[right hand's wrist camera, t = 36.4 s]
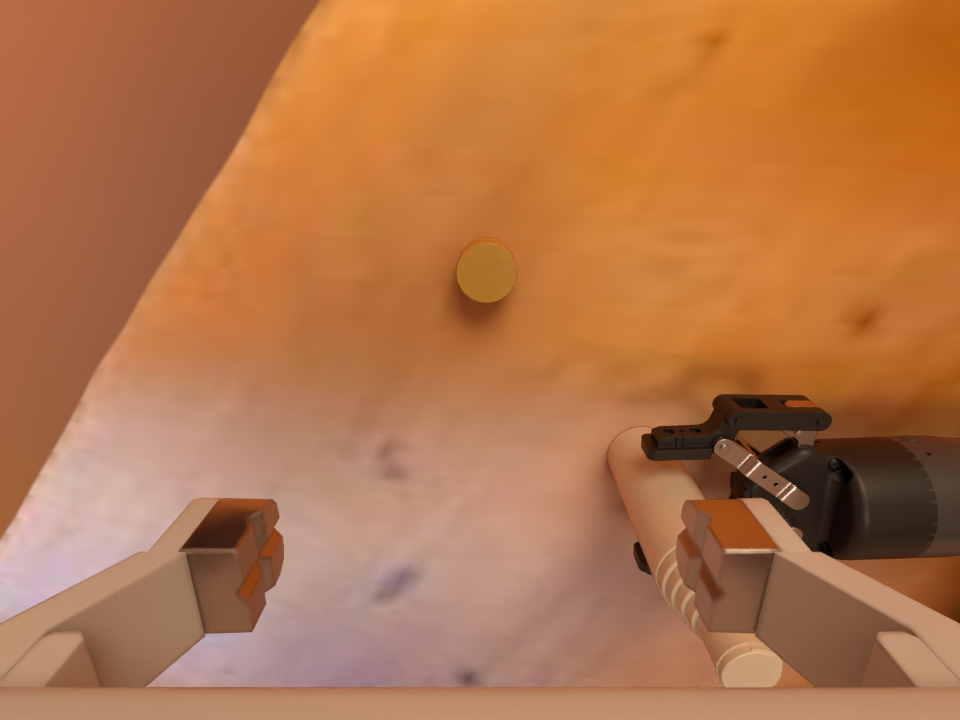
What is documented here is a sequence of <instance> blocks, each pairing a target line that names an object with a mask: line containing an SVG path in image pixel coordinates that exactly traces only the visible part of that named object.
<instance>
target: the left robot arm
mask: <svg viewBox="0 0 960 720" xmlns="http://www.w3.org/2000/svg"><path fill="white" fill-rule="evenodd" d="M712 405H713V408H714V410H713V412H712V414H711V416H710V418H709V419H708V420H707V421H705V422H704V423H702V424H699V425H680V426H659V427H656V428H654V429H651V433H647V434H643V435H642V436H641V448H642V450H643V451H644V453H645V455H646V457H647V458H648V459H649V460H652V461H672V460H698V459H711V453H716V455H718V456H719V457H721V458H722V459H724V460H725V461H727V462H728V463H730V464H731V465H733V466H734V467H736V468H737V470H736V472H731V477H730V486H731V491H732V492H731V495H730V497H729V499H741V498H763V499H765V500H767V501H769V503H770V504H771V505H772V506H773V507H774V508H775V510H776V511H777V512H778V513H779V514H780V515H781V516H782V518H783V519H784V520H785V521H786V522H787V523H788V525H789V526H790V527H791V528H792V529H793V530H794V531H795V533H796V534H797V535H798V536H799V537H800V538H801V540H802V541H803V542H804V543H805V544H806V545H807V546H808V548H809V549H810V550H811V551H812V552H822V553H824V554H826V555H827V556H829V557H831V558H835V559H839V560H868V559H898V558H929V557H950V556H960V438H945V437H935V436H907V435H901V436H892V437H866V438H841V439H818V440H815V438H816V434H817V431H822V430H825V429H827V428H828V427H829V426H830V424H831V422H832V418H831V416H830V415H829V414H828V413H826V412H825V411H824V410H822V409H821V408H820V407H818V406H817V405H816V404H814V403H813V402H812V401H810V400H809V399H808V398H806V397H805V396H802V395H736V394H722V395H719V396H717V397H716V398H715V399H714V400H713V404H712ZM739 430H777V431H783V432H784V433H785V434H786V435H787V436H791V437H788V438H785V439H783V440H781V441H780V442H778V443H776V444H775V445H773V446H771V447H770V448H768V449H766V450H765V451H763V452H761V451H759V450H758V449H756V448H755V447H753V446H752V445H750V444H749V443H747V442H746V441H745V440H743V439H742V438H740V437H739V436H737V433H738V431H739ZM633 554H634V557H635V560H636V562H637V565H638V568H639V569H640V570H641V571H643V572H647V574H649V575H652V574H651V571H650V569H649V566H648V563H647V561H646V558H645V556H644V553H643V551H642V548H641V546H640V543H639V542H636V543H635V544H634V553H633Z"/></svg>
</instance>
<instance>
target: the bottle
mask: <svg viewBox="0 0 960 720" xmlns="http://www.w3.org/2000/svg"><path fill="white" fill-rule="evenodd" d="M651 429H653V428H649V427H636V428H631V429H629V430H626V431H624V432H622V433H621V434H620V435H618V436H617V437H616V438H615V439H614V440H613V442H612V443H611V445H610V447H609V450H608V454H607V461H608V465H609V468H610V470H611V473H612V475H613V478H614V480H615V483H616V485H617V488H618V490H619V493H620V495H621V498H622V500H623V503H624V505H625V508H626V510H627V513H628V516H629V518H630V521H631V523H632V526H633V528H634V531H635V533H636V536H637V538H638V541H639V543H640V546H641V548H642V551H643V553H644V556H645V558H646V561H647V563H648V566H649V569H650V571H651V574H652V576H653V579H654V581H655V584H656V586H657V588H658V590H659V592H660V593H661V594H662V596H663V597H664V600H665V601H666V603H667V604H668V605H669V606H670V607H671V608H672V609H673V610H674V611H675V613H676V614H677V615H678V616H679V617H680V618H682V619H683V621H684V623H685V624H686V625H687V626H688V627H690V628H691V629H692V631H693V632H694V634H695V635H696V636H697V637H698V638H700V639H701V640H703V642H704V644H705V646H706V648H707V651H708V653H709V655H710V657H711V660H712V662H713V664H714V666H715V672H716V676H717V678H718V679H719V681H720V683H722V684H723V685H724V687H773V686H775V685H776V684H777V682H778V681H779V679H780V678H781V675H782V669H783V666H782V661H781V659H780V657H779V656H778V655H777V654H776V653H774V652H773V651H772V650H771V649H770V648H769V647H767V646H766V645H765V644H764V643H763V642H762V641H760V640H759V639H758V638H757V637H756V636H755V634H754V633H719V632H708V631H707V629H706V627H705V625H704V623H703V621H702V619H701V617H700V615H699V613H698V611H697V609H696V607H695V605H694V599H695V592H693V591H692V590H691V589H689V588H688V587H686V586H685V585H684V582H683V580H682V578H681V576H680V573H679V569H678V566H677V557H676V545H677V537H678V535H679V534H680V533H681V532H682V531H683V530H684V529H685V528H686V526H685V525H684V523H683V521H682V519H681V512H682V506H683V504H684V502H685V500H706V498H705V497H704V495H703V494H702V492H701V491H700V489H699V487H698V486H697V484H696V483H695V481H694V480H693V478H692V477H691V475H690V473H689V472H688V470H687V469H686V467H685V466H684V464H683V463H682V461H681V460H672V461H652V460H649V459H648V458H647V457H646V455H645V453H644V451H643V450H642V448H641V436H642V435H643V434H647V433H651Z"/></svg>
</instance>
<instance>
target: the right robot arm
mask: <svg viewBox="0 0 960 720" xmlns="http://www.w3.org/2000/svg"><path fill="white" fill-rule="evenodd" d="M278 519H279V512H278V507H277V503H276V502H275V501H274V500H273V499H235V498H224V499H221V498H198V499H195V500H192V501H191V503H190V504H189V505H188V506H187V507H186V508H185V509H184V511H183V512H182V513H181V514H180V515H179V516H178V518H177V519H176V520H175V521H174V522H173V523H172V524H171V526H170V527H169V528H168V529H167V530H166V531H165V533H164V534H163V535H162V536H161V537H160V538H159V540H158V541H157V542H156V543H155V544H154V545H153V546H152V548H151V549H150V550H149V551H148V552H138V553H136V554H134V555H133V556H131V557H129V558H127V559H125V560H123V561H121V562H119V563H117V564H115V565H113V566H111V567H109V568H107V569H105V570H103V571H101V572H99V573H97V574H95V575H94V576H92V577H90V578H88V579H86V580H84V581H82V582H80V583H78V584H76V585H74V586H72V587H70V588H68V589H66V590H64V591H62V592H60V593H58V594H56V595H55V596H53V597H51V598H49V599H47V600H45V601H43V602H41V603H39V604H37V605H35V606H33V607H31V608H29V609H27V610H25V611H23V612H21V613H19V614H17V615H16V616H14V617H12V618H10V619H8V620H6V621H4V622H2V623H0V720H960V623H958V622H956V621H954V620H952V619H950V618H948V617H946V616H944V615H942V614H940V613H938V612H936V611H934V610H932V609H931V608H929V607H927V606H925V605H923V604H921V603H919V602H917V601H915V600H913V599H911V598H909V597H907V596H905V595H903V594H901V593H899V592H897V591H896V590H894V589H892V588H890V587H888V586H886V585H884V584H882V583H880V582H878V581H876V580H874V579H872V578H870V577H868V576H866V575H864V574H862V573H861V572H859V571H857V570H855V569H853V568H851V567H849V566H847V565H845V564H843V563H841V562H839V561H837V560H835V559H833V558H831V557H829V556H827V555H826V554H824V553H822V552H812V551H811V550H810V549H809V548H808V546H807V545H806V544H805V543H804V542H803V541H802V540H801V538H800V537H799V536H798V535H797V534H796V533H795V531H794V530H793V529H792V528H791V527H790V526H789V525H788V523H787V522H786V521H785V520H784V519H783V518H782V516H781V515H780V514H779V513H778V512H777V511H776V510H775V508H774V507H773V506H772V505H771V504H770V503H769V501H767V500H765V499H763V498H741V499H717V500H685V502H684V504H683V506H682V512H681V519H682V521H683V523H684V525H685V526H686V528H685V529H684V530H683V531H682V532H681V533H680V534H679V535H678V537H677V545H676V557H677V566H678V569H679V573H680V576H681V578H682V580H683V582H684V585H685V586H686V587H688V588H689V589H691V590H692V591H693V592H695V599H694V605H695V607H696V609H697V611H698V613H699V615H700V617H701V619H702V621H703V623H704V625H705V627H706V629H707V631H708V632H719V633H754V634H755V636H756V637H757V638H758V639H759V640H760V641H762V642H763V643H764V644H765V645H766V646H767V647H769V648H770V649H771V650H772V651H773V652H774V653H776V654H777V655H778V656H779V657H780V658H781V659H783V660H784V661H785V662H786V663H787V664H789V665H790V666H791V667H792V668H793V669H794V670H796V671H797V672H798V673H799V674H800V675H801V676H803V677H804V678H805V679H806V680H807V681H808V682H810V683H811V684H812V685H813V686H814V687H146V686H147V685H148V684H149V683H151V682H152V681H153V680H154V679H155V678H156V677H158V676H159V675H160V674H161V673H162V672H163V671H165V670H166V669H167V668H168V667H169V666H171V665H172V664H173V663H174V662H175V661H176V660H178V659H179V658H180V657H181V656H182V655H183V654H185V653H186V652H187V651H188V650H189V649H190V648H192V647H193V646H194V645H195V644H196V643H198V642H199V641H200V640H201V639H202V638H203V637H205V634H206V633H240V632H252V631H253V629H254V627H255V625H256V623H257V621H258V619H259V617H260V615H261V613H262V611H263V609H264V607H265V605H266V599H265V592H267V591H268V590H269V589H271V588H272V587H274V586H275V585H276V582H277V580H278V578H279V576H280V573H281V569H282V564H283V560H284V544H283V537H282V535H281V534H280V533H279V532H278V531H277V530H276V529H275V528H274V526H275V525H276V523H277V521H278Z"/></svg>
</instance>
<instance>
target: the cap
mask: <svg viewBox="0 0 960 720" xmlns="http://www.w3.org/2000/svg"><path fill="white" fill-rule="evenodd" d="M456 276H457V281H458V284H459V286H460V288H461V290H462V291H463V292H464V293H465V294H466V295H467V296H468V297H469V298H471V299H472V300H475V301H477V302H482V303H492V302H496V301H499V300H501V299H502V298H504V297H505V296H506V295H508V294H509V293H510V291H511V290H512V288H513V287H514V285H515V282H516V278H517V268H516V263H515V260H514V257H513V254H512V252H511V251H510V249H509V248H508V247H507V246H506V245H505V244H504V243H502V242H501V241H499V240H497V239H493V238H480V239H477V240H474V241H473V242H471V243H469V244H468V245H467V246H466V247H465V248H464V250H463V251H462V253H461V255H460V257H459V261H458V264H457V269H456Z"/></svg>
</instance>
